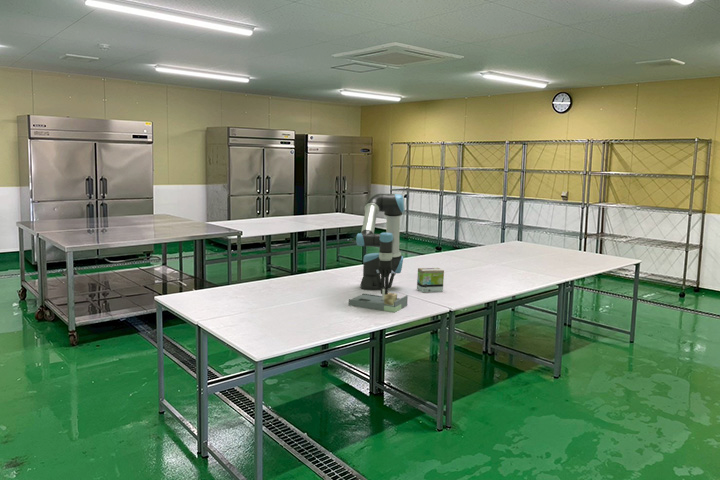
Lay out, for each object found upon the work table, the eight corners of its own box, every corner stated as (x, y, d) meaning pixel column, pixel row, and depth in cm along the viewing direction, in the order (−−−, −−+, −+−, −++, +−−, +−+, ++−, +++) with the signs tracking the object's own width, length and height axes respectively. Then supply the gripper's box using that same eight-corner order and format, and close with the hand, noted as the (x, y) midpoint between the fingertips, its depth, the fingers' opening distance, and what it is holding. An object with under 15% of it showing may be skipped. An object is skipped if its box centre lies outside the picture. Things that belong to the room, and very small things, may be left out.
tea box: (422, 292, 365) (422, 270, 363) (416, 289, 374) (417, 267, 372) (443, 291, 369) (444, 269, 367) (437, 288, 378) (438, 267, 376)
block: (384, 303, 322) (384, 294, 322) (388, 301, 327) (388, 292, 326) (392, 305, 320) (393, 295, 319) (396, 303, 325) (397, 293, 324)
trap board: (348, 305, 330) (348, 295, 329) (362, 298, 345) (362, 289, 345) (395, 312, 316) (395, 302, 315) (407, 305, 332) (407, 295, 331)
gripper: (372, 259, 320) (371, 299, 323) (393, 261, 314) (391, 302, 317) (378, 257, 327) (376, 296, 330) (398, 259, 321) (397, 299, 324)
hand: (384, 299), depth 324 cm, fingers closed
